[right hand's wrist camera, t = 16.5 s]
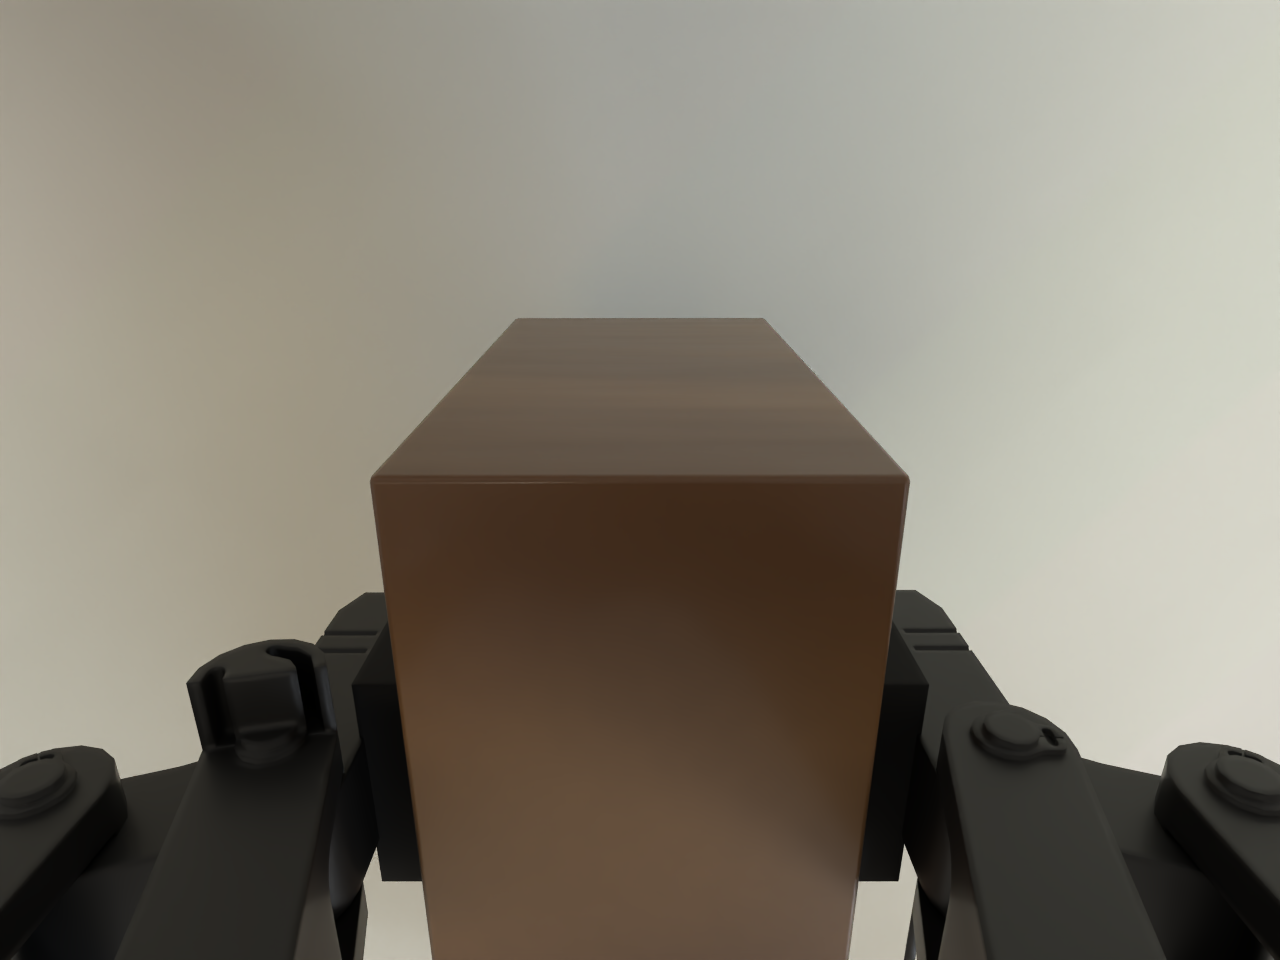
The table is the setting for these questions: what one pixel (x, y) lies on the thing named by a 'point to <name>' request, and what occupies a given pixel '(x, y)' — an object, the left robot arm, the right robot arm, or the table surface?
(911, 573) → the table surface
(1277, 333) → the table surface
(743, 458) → the bar
